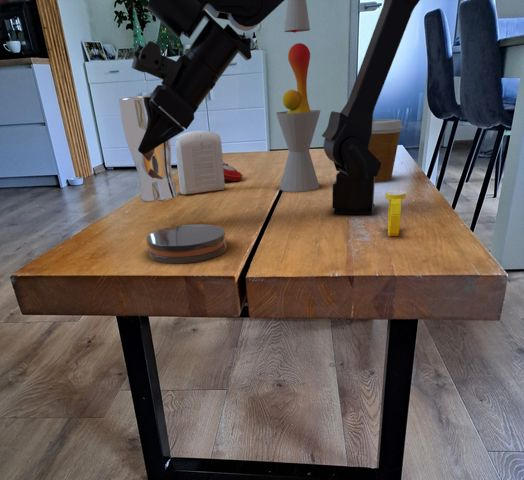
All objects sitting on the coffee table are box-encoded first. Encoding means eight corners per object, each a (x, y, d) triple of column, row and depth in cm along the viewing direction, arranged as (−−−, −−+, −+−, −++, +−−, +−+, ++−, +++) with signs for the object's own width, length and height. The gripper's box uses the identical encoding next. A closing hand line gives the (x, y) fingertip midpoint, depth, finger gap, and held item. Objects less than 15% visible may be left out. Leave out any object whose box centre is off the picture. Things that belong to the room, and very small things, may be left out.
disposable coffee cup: (353, 177, 114) (354, 120, 109) (394, 174, 114) (398, 118, 108) (358, 184, 106) (361, 124, 100) (402, 182, 106) (407, 121, 100)
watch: (382, 228, 75) (385, 188, 72) (401, 228, 74) (404, 187, 71) (383, 239, 70) (386, 196, 67) (403, 239, 69) (407, 196, 66)
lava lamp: (309, 182, 112) (308, -6, 95) (327, 188, 104) (329, -14, 87) (272, 186, 109) (264, -5, 92) (288, 193, 102) (283, -14, 85)
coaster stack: (236, 240, 73) (235, 224, 72) (210, 264, 64) (208, 247, 63) (169, 239, 76) (166, 223, 75) (135, 262, 66) (131, 244, 65)
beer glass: (189, 195, 80) (172, 93, 73) (152, 205, 76) (131, 98, 69) (166, 191, 85) (148, 94, 77) (131, 200, 81) (108, 99, 73)
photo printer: (220, 187, 112) (215, 128, 106) (228, 189, 109) (223, 129, 103) (178, 193, 108) (170, 132, 102) (184, 196, 105) (176, 133, 99)
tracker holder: (251, 174, 118) (214, 169, 112) (246, 192, 120) (210, 188, 115) (228, 158, 126) (193, 152, 120) (224, 175, 128) (189, 170, 122)
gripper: (162, 27, 77) (106, 110, 82) (154, 11, 61) (85, 115, 65) (217, 80, 82) (161, 156, 86) (223, 78, 65) (155, 172, 70)
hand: (142, 149), depth 77 cm, fingers closed on beer glass, 7 cm apart
